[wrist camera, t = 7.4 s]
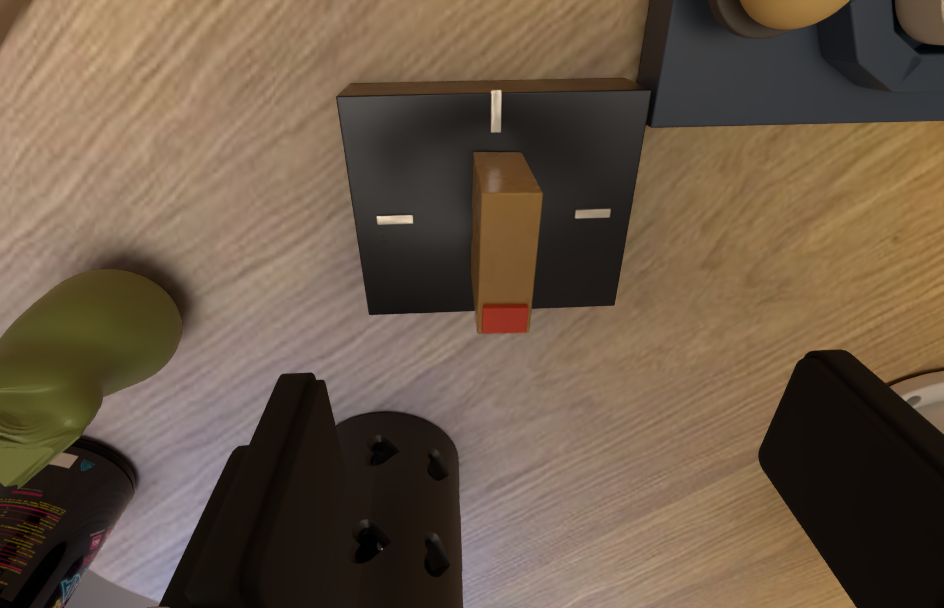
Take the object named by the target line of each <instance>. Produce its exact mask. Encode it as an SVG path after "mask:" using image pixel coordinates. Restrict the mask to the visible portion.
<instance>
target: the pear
mask: <svg viewBox="0 0 944 608" xmlns="http://www.w3.org/2000/svg"><path fill="white" fill-rule="evenodd" d="M181 333H182V322H181V316H180V313H179V310H178V308H177V306H176V304H175V303H174V301H173V300H172V298H171V297H170V296H169V295H168V294H167V292H166V291H165V290H163V289H162V288H161V287H160V286H159V285H157V284H156V283H154V282H153V281H151V280H149V279H147V278H145V277H143V276H141V275H138V274H136V273H132V272H129V271H124V270H118V269H99V270H92V271H88V272H84V273H81V274H78V275H75V276H73V277H71V278H68V279H67V280H65V281H63V282H61V283H60V284H58V285H57V286H55V287H54V288H53V289H51V290H50V291H49V292H48V293H46V294H45V295H44V296H43V297H41V298H40V299H39V300H38V301H37V302H35V303H34V304H33V305H32V306H31V307H30V308H28V309H27V310H26V311H25V312H24V313H23V314H22V315H21V316H20V317H19V318H18V319H17V320H16V321H15V322H14V323H13V324H12V325H11V326H10V327H9V328H8V329H7V330H6V332H5V333H4V334H3V336H2V337H1V339H0V482H1V483H2V485H4V486H5V487H7V486H13V485H18V489H19V488H20V487H22V486H23V485H24V484H25V483H26V482H28V481H29V480H30V479H31V478H32V477H34V476H35V475H36V474H37V473H38V472H39V471H41V470H42V469H43V468H44V467H45V466H47V465H48V464H49V463H50V462H51V461H52V460H54V459H55V458H56V457H57V456H58V455H60V454H61V453H62V452H63V451H64V450H65V449H67V448H68V447H69V446H70V445H72V444H73V443H74V442H75V441H76V440H77V439H79V438H80V436H81V435H82V433H83V431H84V430H85V428H86V426H88V425H89V424H90V423H91V421H92V420H93V419H94V417H95V416H96V414H97V412H98V410H99V408H100V407H101V405H102V401H103V397H105V396H108V395H110V394H113V393H115V392H117V391H119V390H122V389H124V388H127V387H129V386H132V385H134V384H137V383H139V382H141V381H144V380H146V379H148V378H149V377H151V376H153V375H154V374H156V373H157V372H158V371H160V370H161V369H162V368H163V367H164V366H165V365H166V364H167V363H168V361H169V360H170V359H171V358H172V356H173V354H174V353H175V351H176V349H177V347H178V345H179V342H180V338H181Z"/></svg>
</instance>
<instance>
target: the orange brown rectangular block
mask: <svg viewBox="0 0 944 608" xmlns="http://www.w3.org/2000/svg"><path fill="white" fill-rule="evenodd" d="M542 198H543V193H542V191H541V189H540V187H539V185H538V183H537V181H536V179H535V178H534V176H533V174H532V172H531V170H530V168H529V166H528V164H527V162H526V160H525V158H524V156H523V154H522V153H521V152H473V181H472V231H471V279H472V288H473V298H474V307H475V317H476V326H477V333H478V334H488V333H529V328H530V318H531V308H532V298H533V288H534V278H535V268H536V258H537V248H538V238H539V228H540V218H541V208H542Z"/></svg>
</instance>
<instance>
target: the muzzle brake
mask: <svg viewBox="0 0 944 608" xmlns="http://www.w3.org/2000/svg"><path fill="white" fill-rule="evenodd" d="M336 430H337V434H338V439H339V443H340V447H341V451H342V456H343V460H344V464H345V468H346V475H347V484H346V492H345V496H344V501H343V506H342V511H341V516H340V521H339V526H338V531H337V536H336V541H335V546H334V551H333V555H332V560H331V565H330V570H329V575H328V580H327V585H326V590H325V595H324V600H323V605H322V608H463V594H462V588H463V586H462V545H461V516H460V503H459V497H460V496H459V461H458V453H457V451H456V448H455V446H454V444H453V443H452V441H451V440H450V439H449V437H448V436H447V435H446V434H445V433H444V432H442V431H441V430H440V429H439V428H437V427H435V426H434V425H432V424H430V423H428V422H427V421H424V420H421V419H419V418H416V417H413V416H408V415H403V414H397V413H375V414H367V415H363V416H359V417H355V418H352V419H350V420H348V421H345V422H343V423H341V424H340V425H338V426H336ZM379 449H382V450H384V451H386V453H387V454H388V455H389V456H390V457H391V458H390V459H389V460H387V461H386V462H384V463H383V464H380V465H377V466H372V464H373V462H374V451H376V450H379ZM428 469H429V471H430V474H431V476H432V477H431V476H430V475H429V474H428ZM382 548H383V550H381V549H382Z"/></svg>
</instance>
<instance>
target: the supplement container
mask: <svg viewBox="0 0 944 608" xmlns="http://www.w3.org/2000/svg"><path fill="white" fill-rule="evenodd" d="M134 492H135V478H134V475H133V472H132V470H131V468H130V467H129V465H128V464H127V463H126V462H125V461H124V460H123V459H122V458H121V457H120V456H119V455H117V454H116V453H114V452H113V451H111V450H109V449H108V448H106V447H104V446H101V445H99V444H96V443H94V442H90V441H87V440H83V439H77V440H76V441H75V442H74V443H73V444H72V445H70V446H69V447H68V448H67V449H65V450H64V451H63V452H62V453H61V454H60V455H58V456H57V457H56V458H55V459H54V460H52V461H51V462H50V463H49V464H48V465H47V466H45V467H44V468H43V469H42V470H41V471H39V472H38V473H37V474H36V475H35V476H34V477H32V478H31V479H30V480H29V481H28V482H26V483H25V484H24V485H23V486H22V487H20V488H19V489H18V485H13V486H7V487H5V486H4V485H2V483H1V482H0V608H64V607H65V605H66V603H67V602H68V600H69V599H70V597H71V595H72V593H73V592H74V591H75V589H76V587H77V586H78V584H79V583H80V581H81V579H82V578H83V576H84V575H85V573H86V571H87V570H88V568H89V567H90V565H91V563H92V562H93V560H94V559H95V557H96V555H97V554H98V552H99V551H100V549H101V547H102V546H103V544H104V543H105V541H106V539H107V538H108V536H109V535H110V533H111V531H112V530H113V528H114V527H115V525H116V523H117V522H118V520H119V519H120V517H121V515H122V514H123V512H124V511H125V509H126V507H127V506H128V504H129V503H130V501H131V499H132V498H133V496H134Z"/></svg>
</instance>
